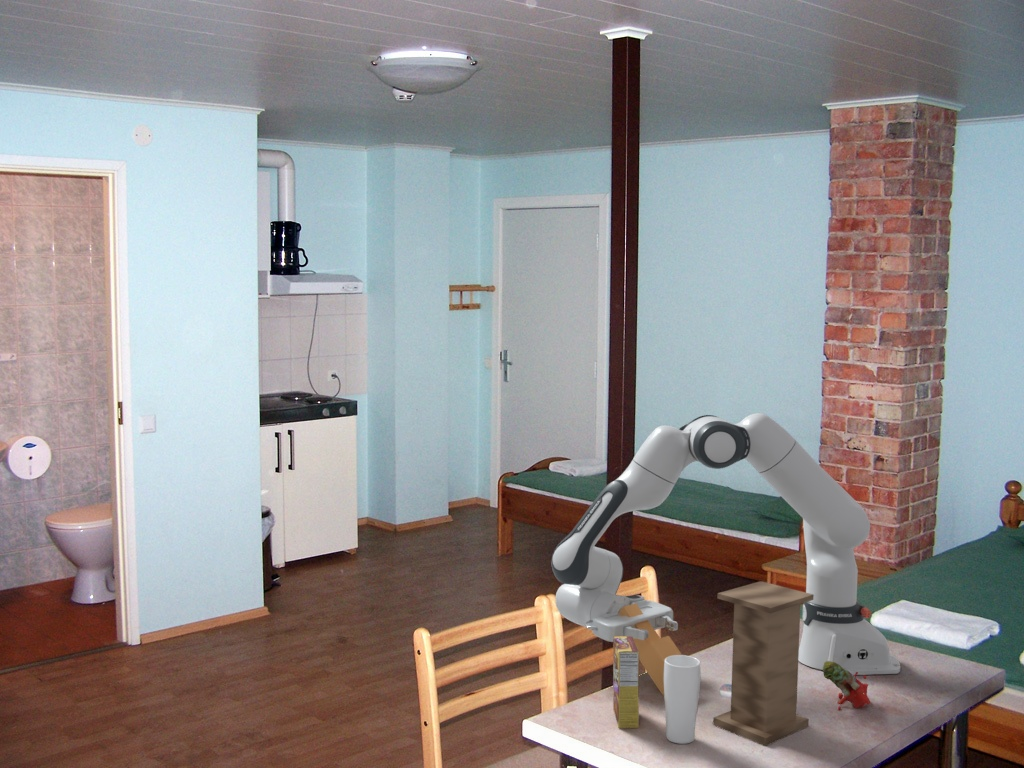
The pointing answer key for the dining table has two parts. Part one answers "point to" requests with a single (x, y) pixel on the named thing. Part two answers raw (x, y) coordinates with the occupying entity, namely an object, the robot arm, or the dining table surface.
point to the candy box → (626, 682)
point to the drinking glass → (681, 697)
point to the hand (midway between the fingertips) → (661, 631)
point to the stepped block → (651, 647)
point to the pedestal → (764, 662)
